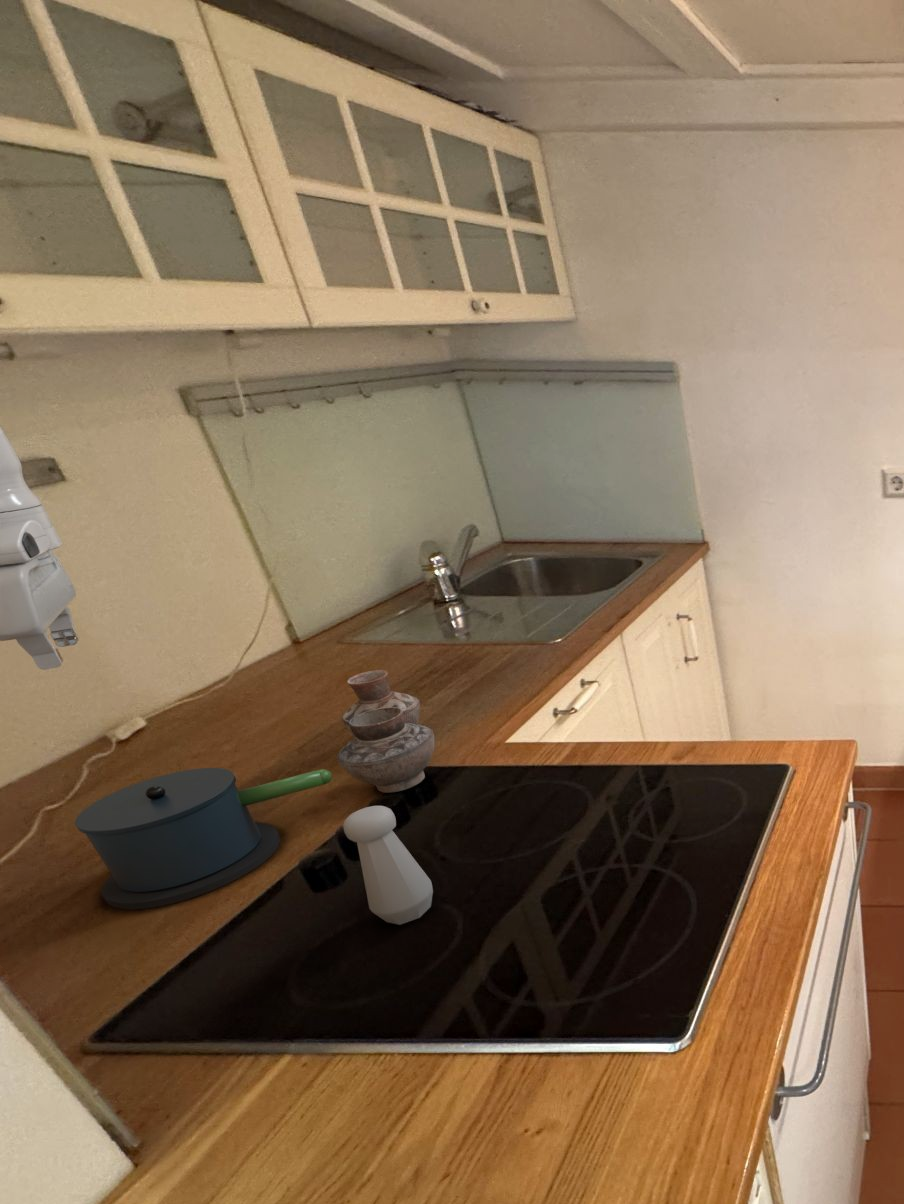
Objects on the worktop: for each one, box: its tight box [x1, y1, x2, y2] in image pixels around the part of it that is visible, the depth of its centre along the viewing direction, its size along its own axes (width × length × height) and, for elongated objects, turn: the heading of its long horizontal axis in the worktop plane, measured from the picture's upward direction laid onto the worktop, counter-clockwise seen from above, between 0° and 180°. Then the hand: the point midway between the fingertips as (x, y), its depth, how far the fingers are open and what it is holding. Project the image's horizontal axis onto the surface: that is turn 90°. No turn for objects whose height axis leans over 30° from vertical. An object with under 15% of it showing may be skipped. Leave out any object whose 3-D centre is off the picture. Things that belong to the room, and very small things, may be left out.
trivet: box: [100, 821, 281, 911], centre depth 93 cm, size 16×16×1 cm
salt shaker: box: [342, 805, 434, 926], centre depth 82 cm, size 6×6×13 cm
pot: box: [74, 767, 333, 892], centre depth 93 cm, size 22×14×10 cm, turn 127°
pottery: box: [336, 669, 436, 794], centre depth 112 cm, size 11×25×12 cm, turn 38°
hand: (61, 655), depth 89 cm, fingers open, 8 cm apart
